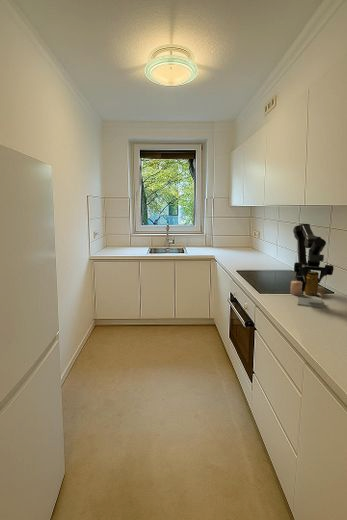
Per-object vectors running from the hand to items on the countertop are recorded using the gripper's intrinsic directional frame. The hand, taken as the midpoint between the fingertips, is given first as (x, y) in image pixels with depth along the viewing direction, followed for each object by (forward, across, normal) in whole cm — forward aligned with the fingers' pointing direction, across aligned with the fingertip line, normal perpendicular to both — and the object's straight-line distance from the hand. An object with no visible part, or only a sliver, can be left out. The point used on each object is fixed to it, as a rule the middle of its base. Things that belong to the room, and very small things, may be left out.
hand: (312, 282), depth 158 cm
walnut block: (-5, +4, +22) cm, 22 cm away
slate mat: (+7, 0, +9) cm, 12 cm away
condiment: (+4, +1, +6) cm, 7 cm away
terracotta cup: (-3, -8, +20) cm, 21 cm away
